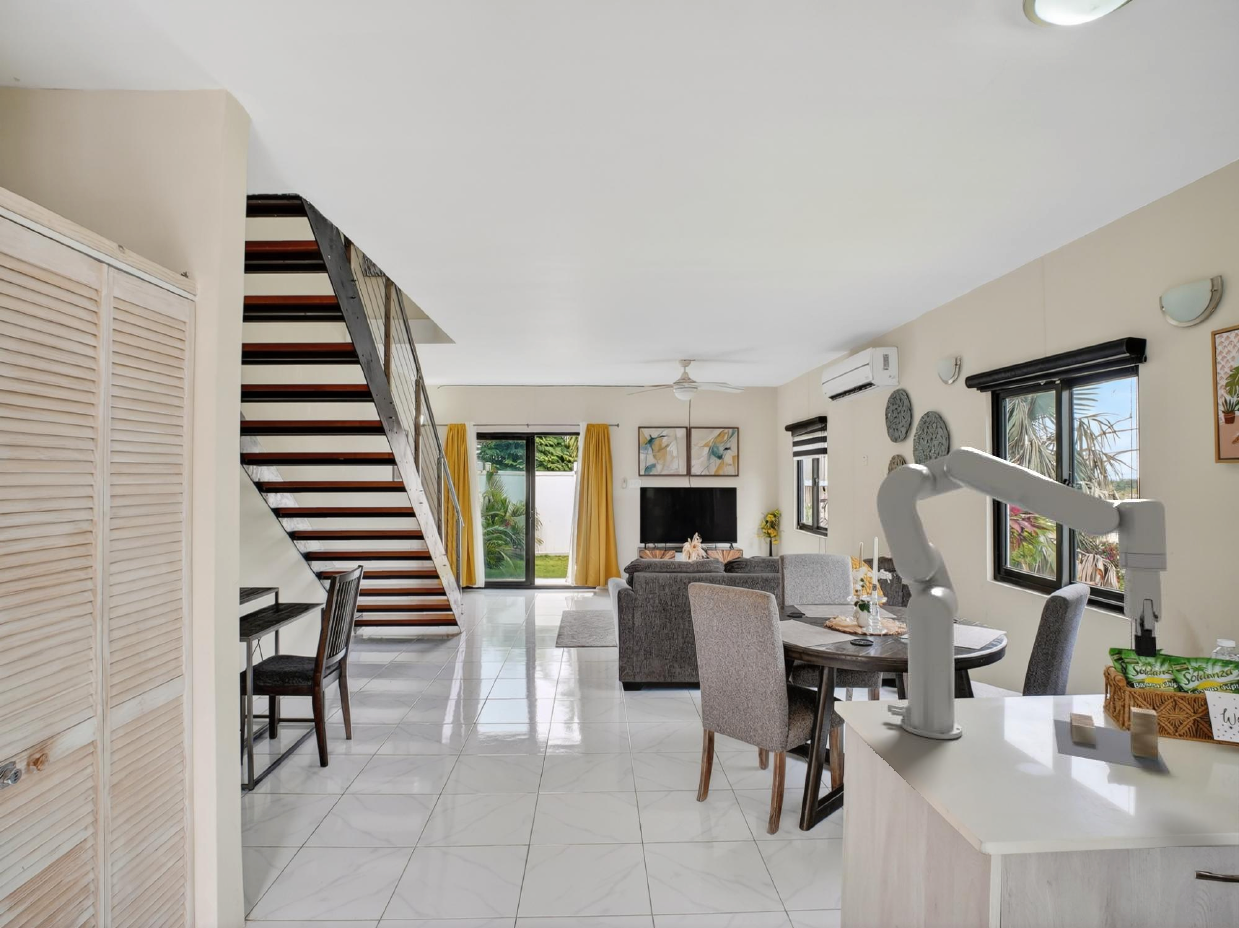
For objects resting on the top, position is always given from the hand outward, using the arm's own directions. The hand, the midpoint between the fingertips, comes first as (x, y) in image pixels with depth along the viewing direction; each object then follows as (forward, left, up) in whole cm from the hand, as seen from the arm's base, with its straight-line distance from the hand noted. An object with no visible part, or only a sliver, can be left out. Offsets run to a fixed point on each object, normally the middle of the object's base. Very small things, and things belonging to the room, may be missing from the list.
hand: (1145, 655), depth 133 cm
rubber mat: (-6, +11, -22) cm, 25 cm away
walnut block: (-10, +8, -20) cm, 23 cm away
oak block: (0, +7, -21) cm, 22 cm away
